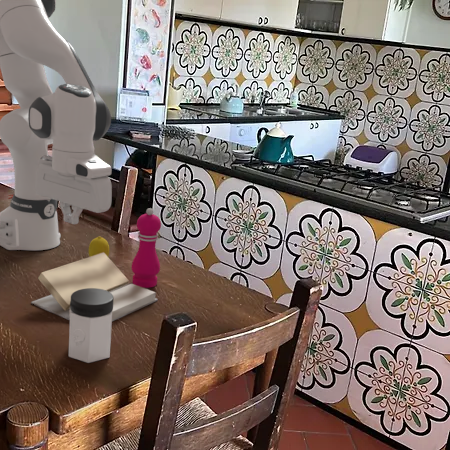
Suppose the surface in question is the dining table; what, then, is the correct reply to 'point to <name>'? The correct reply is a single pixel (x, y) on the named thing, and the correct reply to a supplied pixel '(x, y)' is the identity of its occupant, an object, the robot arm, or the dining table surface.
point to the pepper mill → (146, 251)
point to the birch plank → (82, 278)
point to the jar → (90, 324)
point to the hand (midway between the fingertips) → (70, 222)
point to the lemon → (98, 246)
